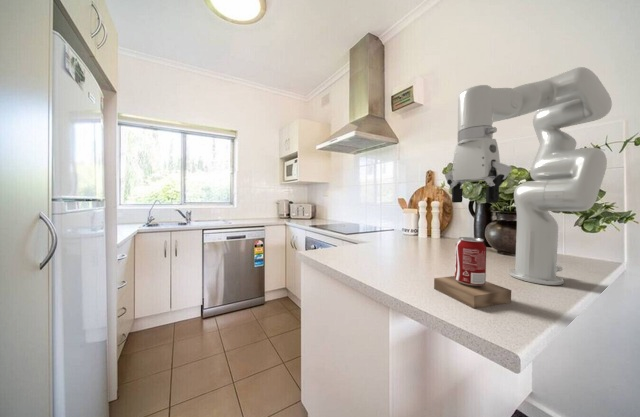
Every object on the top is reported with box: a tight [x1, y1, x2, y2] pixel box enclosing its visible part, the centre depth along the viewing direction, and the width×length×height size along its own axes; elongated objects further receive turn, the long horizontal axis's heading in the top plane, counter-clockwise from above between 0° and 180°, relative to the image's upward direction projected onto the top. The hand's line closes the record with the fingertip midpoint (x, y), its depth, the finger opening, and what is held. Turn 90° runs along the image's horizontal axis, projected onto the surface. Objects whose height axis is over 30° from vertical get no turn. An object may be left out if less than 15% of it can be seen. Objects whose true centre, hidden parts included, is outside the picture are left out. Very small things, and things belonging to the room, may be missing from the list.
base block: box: [433, 275, 512, 309], centre depth 59 cm, size 12×12×3 cm
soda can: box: [454, 236, 487, 287], centre depth 59 cm, size 7×7×12 cm
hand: (473, 202), depth 59 cm, fingers open, 9 cm apart
